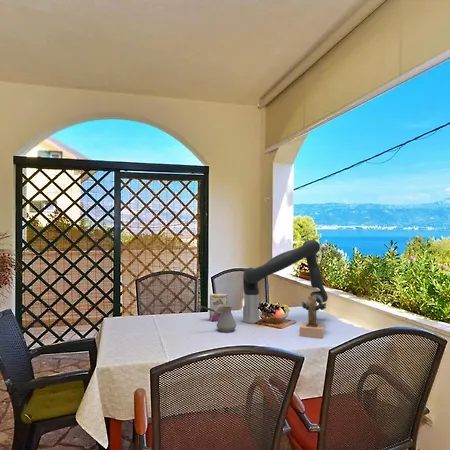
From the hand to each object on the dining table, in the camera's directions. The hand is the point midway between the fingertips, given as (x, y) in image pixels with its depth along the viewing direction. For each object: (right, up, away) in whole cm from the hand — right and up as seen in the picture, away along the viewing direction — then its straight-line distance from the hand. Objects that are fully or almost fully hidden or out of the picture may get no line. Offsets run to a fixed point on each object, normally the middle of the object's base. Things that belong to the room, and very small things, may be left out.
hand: (311, 308), depth 205 cm
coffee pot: (-51, -15, +9) cm, 54 cm away
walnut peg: (+1, -9, +3) cm, 9 cm away
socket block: (+1, -15, +3) cm, 15 cm away
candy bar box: (-51, -15, +31) cm, 62 cm away
